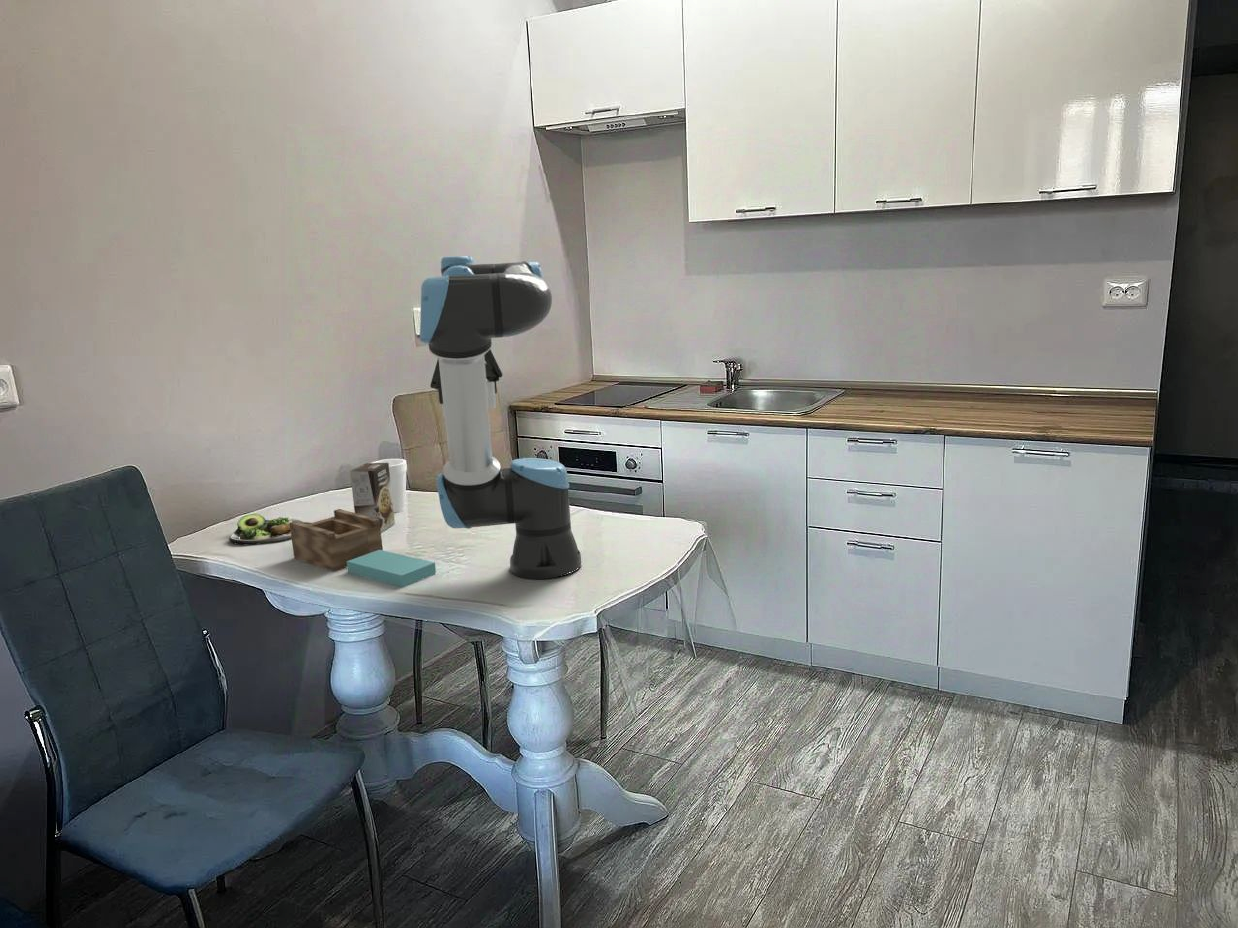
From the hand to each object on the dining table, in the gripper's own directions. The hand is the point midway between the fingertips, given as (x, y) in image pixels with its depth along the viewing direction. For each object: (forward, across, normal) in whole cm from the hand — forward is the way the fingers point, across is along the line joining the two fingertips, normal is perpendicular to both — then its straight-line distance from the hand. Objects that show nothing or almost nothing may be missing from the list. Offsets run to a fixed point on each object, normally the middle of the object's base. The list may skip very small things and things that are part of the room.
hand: (470, 412), depth 223 cm
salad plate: (+29, +33, -43) cm, 62 cm away
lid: (+29, +33, +9) cm, 45 cm away
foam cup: (+29, +2, -33) cm, 44 cm away
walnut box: (+29, +33, -11) cm, 45 cm away
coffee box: (+29, +15, -22) cm, 39 cm away
